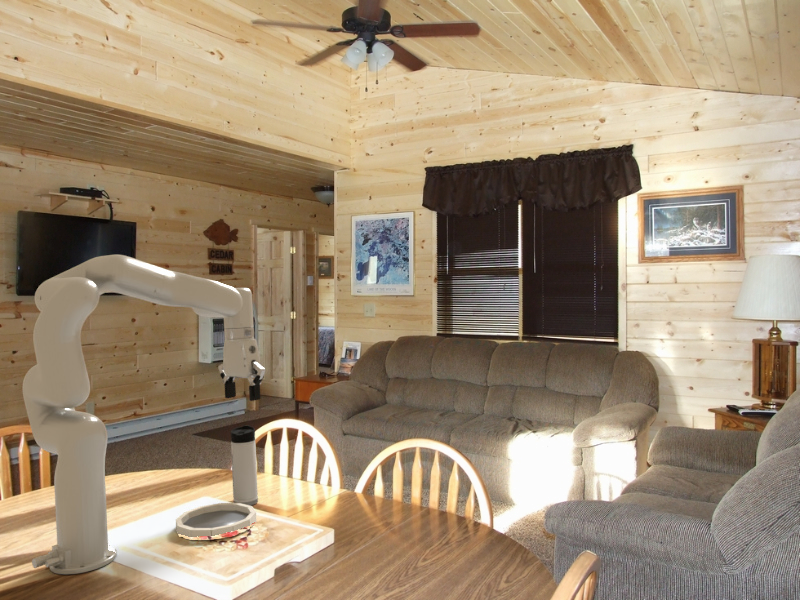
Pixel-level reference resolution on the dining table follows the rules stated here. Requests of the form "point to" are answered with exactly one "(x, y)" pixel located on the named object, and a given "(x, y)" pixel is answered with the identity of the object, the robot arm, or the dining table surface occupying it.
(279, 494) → the dining table surface
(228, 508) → the round tray
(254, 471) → the travel mug
